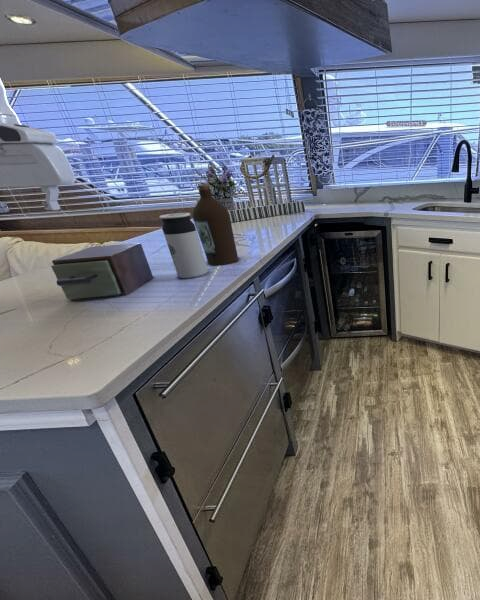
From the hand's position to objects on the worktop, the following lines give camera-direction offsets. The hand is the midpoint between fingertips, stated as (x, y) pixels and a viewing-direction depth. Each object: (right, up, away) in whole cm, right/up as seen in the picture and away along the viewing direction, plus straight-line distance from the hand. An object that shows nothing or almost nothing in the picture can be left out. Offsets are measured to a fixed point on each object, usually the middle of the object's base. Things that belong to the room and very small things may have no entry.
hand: (27, 211), depth 64 cm
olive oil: (+14, -5, +47) cm, 49 cm away
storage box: (-5, -14, +25) cm, 30 cm away
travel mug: (+11, -10, +34) cm, 37 cm away
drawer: (-4, -15, +21) cm, 26 cm away
